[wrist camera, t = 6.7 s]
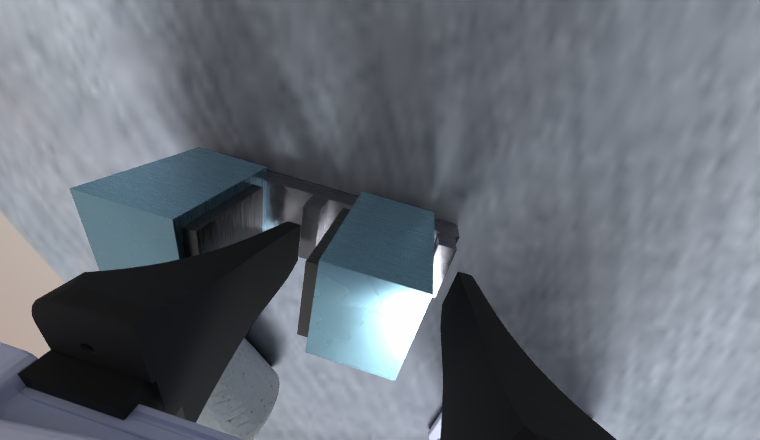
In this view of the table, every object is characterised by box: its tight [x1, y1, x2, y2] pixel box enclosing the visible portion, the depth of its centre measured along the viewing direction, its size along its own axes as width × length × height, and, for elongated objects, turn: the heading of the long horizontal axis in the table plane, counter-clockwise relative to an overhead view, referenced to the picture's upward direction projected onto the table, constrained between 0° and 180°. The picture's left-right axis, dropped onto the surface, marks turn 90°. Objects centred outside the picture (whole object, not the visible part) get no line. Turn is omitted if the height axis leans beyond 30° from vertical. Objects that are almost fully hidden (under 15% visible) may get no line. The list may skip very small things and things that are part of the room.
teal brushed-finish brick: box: [297, 191, 435, 381], centre depth 12 cm, size 4×4×6 cm
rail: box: [70, 147, 459, 298], centre depth 12 cm, size 14×4×7 cm, turn 77°
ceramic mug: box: [196, 338, 279, 440], centre depth 20 cm, size 11×8×8 cm
